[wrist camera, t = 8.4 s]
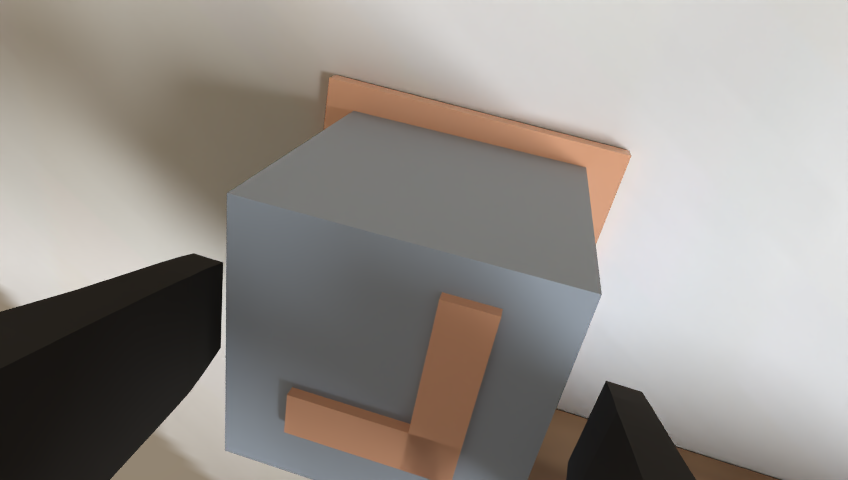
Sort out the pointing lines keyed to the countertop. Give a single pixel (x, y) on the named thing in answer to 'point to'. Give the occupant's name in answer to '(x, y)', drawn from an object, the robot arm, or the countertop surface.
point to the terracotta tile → (486, 134)
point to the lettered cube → (404, 304)
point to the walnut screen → (564, 435)
